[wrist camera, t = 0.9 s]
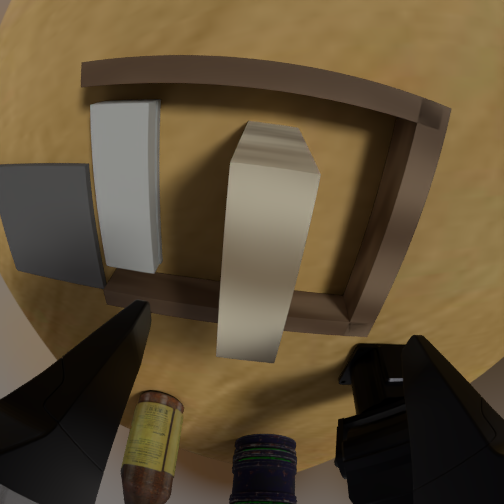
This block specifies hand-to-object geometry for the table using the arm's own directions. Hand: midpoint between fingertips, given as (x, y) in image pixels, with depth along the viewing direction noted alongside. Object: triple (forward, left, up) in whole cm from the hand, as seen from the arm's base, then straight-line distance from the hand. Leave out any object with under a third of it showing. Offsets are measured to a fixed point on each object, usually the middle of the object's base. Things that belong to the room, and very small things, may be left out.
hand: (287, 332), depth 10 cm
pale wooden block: (-1, +1, -12) cm, 12 cm away
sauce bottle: (-30, +10, -12) cm, 34 cm away
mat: (-5, +19, -12) cm, 23 cm away
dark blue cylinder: (-41, -5, -12) cm, 43 cm away
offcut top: (-1, +10, -12) cm, 15 cm away
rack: (-1, +2, -12) cm, 12 cm away
